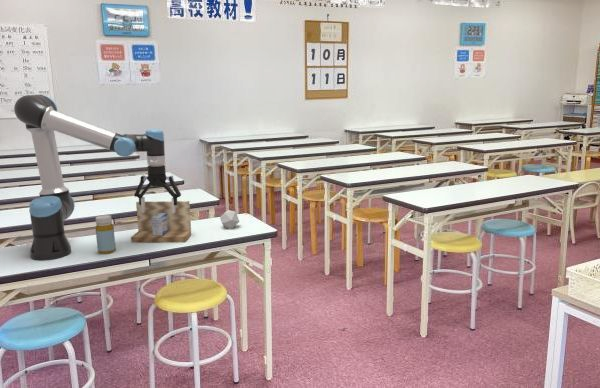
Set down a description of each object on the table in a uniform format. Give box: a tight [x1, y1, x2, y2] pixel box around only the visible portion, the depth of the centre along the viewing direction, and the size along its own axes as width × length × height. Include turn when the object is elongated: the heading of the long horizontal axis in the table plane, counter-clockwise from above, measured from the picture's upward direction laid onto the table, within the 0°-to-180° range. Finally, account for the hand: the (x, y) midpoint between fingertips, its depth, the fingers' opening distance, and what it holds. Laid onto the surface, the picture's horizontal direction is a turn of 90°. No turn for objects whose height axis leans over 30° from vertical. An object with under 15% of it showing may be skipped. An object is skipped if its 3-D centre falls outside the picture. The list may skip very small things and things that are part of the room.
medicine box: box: [151, 213, 168, 236], centre depth 228 cm, size 8×4×9 cm, turn 174°
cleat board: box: [130, 200, 192, 244], centre depth 228 cm, size 24×12×16 cm, turn 89°
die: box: [219, 209, 240, 230], centre depth 246 cm, size 8×9×10 cm
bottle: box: [95, 214, 117, 255], centre depth 211 cm, size 7×7×15 cm
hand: (158, 212), depth 227 cm, fingers open, 13 cm apart
